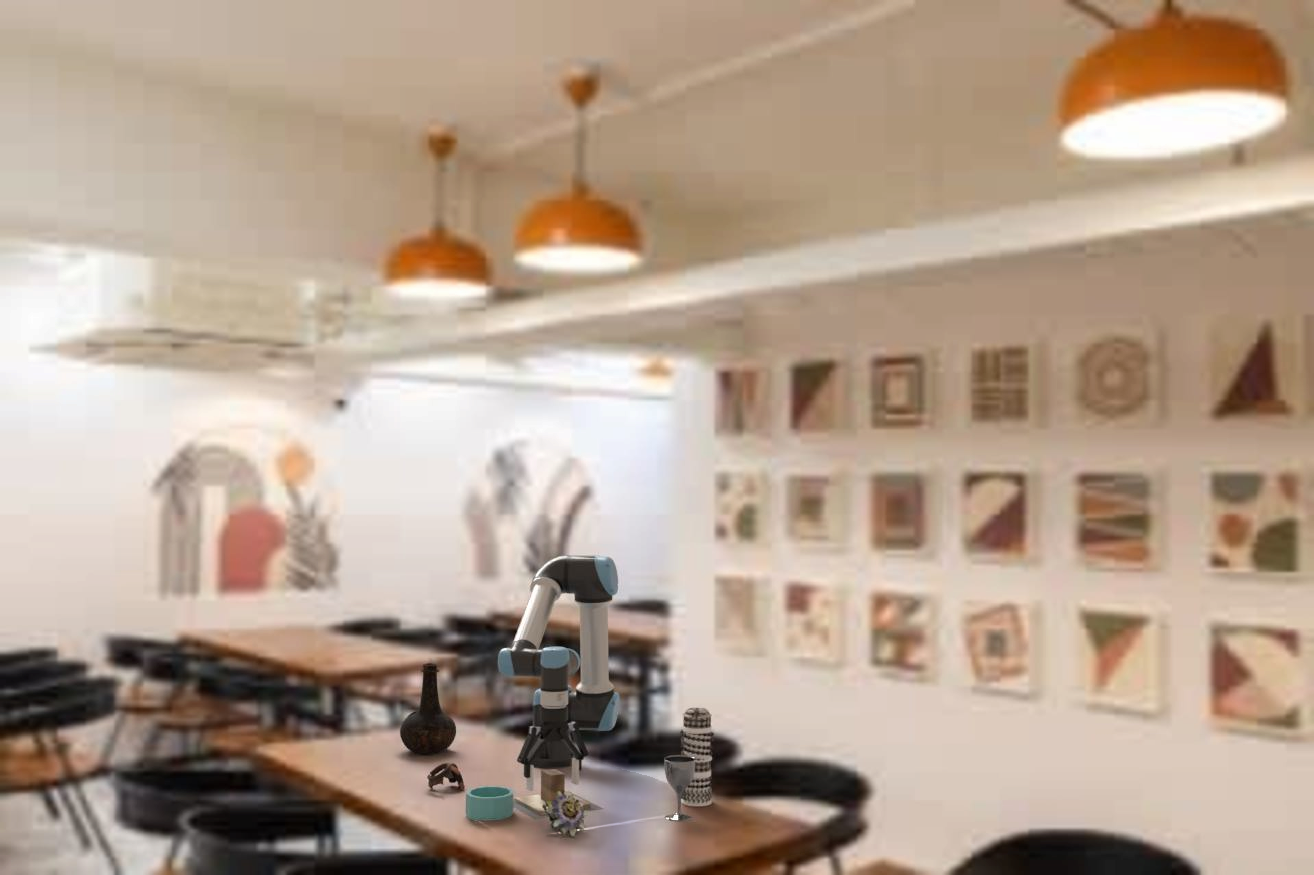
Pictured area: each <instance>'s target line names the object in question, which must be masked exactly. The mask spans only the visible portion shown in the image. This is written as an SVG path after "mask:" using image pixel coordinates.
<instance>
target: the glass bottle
mask: <svg viewBox="0 0 1314 875" xmlns="http://www.w3.org/2000/svg"><path fill="white" fill-rule="evenodd" d="M440 671H441V670H440V669H438V665H437V664H436V663H431V662H430V663H429V662H428V663H423V664H422V668H421V669H420V672H421V673H422V687H421V696H420V701H419V702H420V703H419V706H418V710H415V711H413V712H411V713H409V714H408V715H407V716H406V718H404V720H403V721H402V723H401V726H400V729H399V736H400V739H401V742H402V743H403V745H404V746H405V747H406V749H407V750H409V751H410V752H411V753H413V754H416V755H424V754H425V755H434V754H435V753H436V754H439V753H442V752H444V751H445V750H448V748H449V747H450V746H451V745H452V744H453V743H454V741H455V738H456V735H457V726H456V723H455V721H454V720H453V719H452V717H451V716H449V715H448V714H447V713H445V712H443V710H442V708H441V704H440V697H439V689H438V674H437V673H439V672H440Z"/></svg>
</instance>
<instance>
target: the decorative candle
mask: <svg viewBox="0 0 1314 875" xmlns="http://www.w3.org/2000/svg"><path fill="white" fill-rule="evenodd" d="M682 716H683V725H682V729H681V731H679V734H680V736H682V737H681V738H680V740H679V742H680V743H681V744H680V748H681V749H682V750H681V752H680V755H685V756H691V757H694V758H695V771H694V776H693V780H692V782H691V783H690V784H689V786H688V787H687V788H686V789H685V790H684V792H683V794H682V798H681V805H683V806H684V805H685V806H689V807H706V806H710V805H711V804H712V802H713V801H712V797H713V794H712V793H713V789H712V785H713V783H712V780H713V776H712V769H711V761H712V760H713V757H712V755H713V754H714V752H713V751H712V750H713V749H714V746H713V745H712V744H711V743H712V742H714V738H713V737H714V736H715V733H714V732H713V731H712V728H713V726H712V724H711V723H712V717H713V715H712V714H711V713H710V711H709V710H708V709H707V708H705V707H704V708H703V707H690V708H687V709H686V710H685V712H684V713H682Z"/></svg>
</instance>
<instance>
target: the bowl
mask: <svg viewBox="0 0 1314 875" xmlns="http://www.w3.org/2000/svg"><path fill="white" fill-rule="evenodd" d="M514 799H515V790H513V789H512V788H511V787H507V786H506V787H505V786H500V785H488V786H487V785H485V786H476V787H473V788H471V789H470V788H469V789H468V790H467V791H466V794H465V817H466V819H468V818H469V819H470V820H469V819H468V820H469V821H472V820H477V821H481V822H480V823H483V821H499V820H504V819H508V818H510V817H512V816H513V815H514ZM477 821H476V822H477Z"/></svg>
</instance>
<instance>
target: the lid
mask: <svg viewBox="0 0 1314 875" xmlns="http://www.w3.org/2000/svg"><path fill="white" fill-rule="evenodd" d="M540 774H541V775H540V793H539V794H533V795H525V796H518V797H514V799H515V802H516V803H518V804H520V805H522V806H524V807H525V808H527V809H529V810H531V811H533V812H534V813H536V814H538V815H544V814H547V813H545V810H544V809H543V807H542V806H543V804H544V805H546V803H545V802H546V801H548V802H552V801H553V800H555V799H556V798H557V791H560V792H561V793H562V795H563V796H564V795H566V797H567V798H568V797H569V796H570V795H571V794H570V793H568V792H567V791H566V789H565V788H566V786H565V785H566V779H565V778H566V774H565V773H564V772H562V771H560V770H558V769H557V768H556V769H555V768H551V769H544V770H543V769H542V770H541V771H540ZM574 798H575V800H576V799H578V801H579V802H578V803H583V809H584V808H591V804H590V803H588V802H586V801H584V800H582V799H580V798H578V797H576V796H574ZM575 800H574V801H575ZM552 804H553V802H552V803H551V804H549V807H551V806H552ZM546 809H548V807H546Z"/></svg>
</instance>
